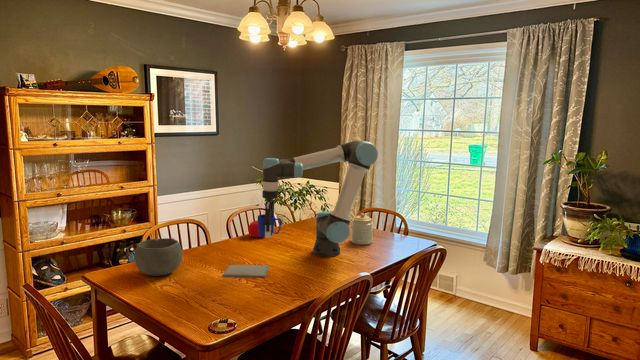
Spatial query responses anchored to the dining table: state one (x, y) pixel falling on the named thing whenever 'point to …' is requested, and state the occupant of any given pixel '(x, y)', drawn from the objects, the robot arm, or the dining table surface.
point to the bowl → (158, 256)
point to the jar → (362, 230)
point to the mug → (262, 227)
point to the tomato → (254, 229)
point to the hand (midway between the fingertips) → (269, 235)
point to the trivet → (246, 271)
